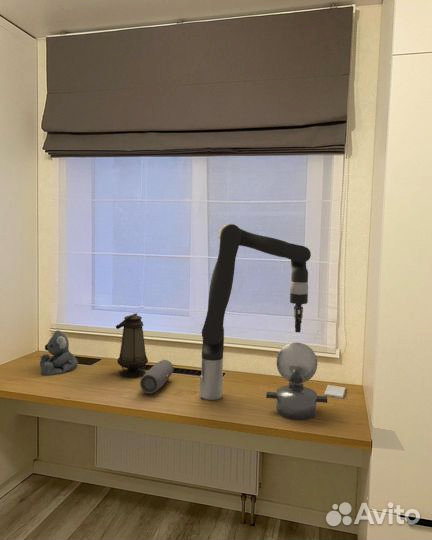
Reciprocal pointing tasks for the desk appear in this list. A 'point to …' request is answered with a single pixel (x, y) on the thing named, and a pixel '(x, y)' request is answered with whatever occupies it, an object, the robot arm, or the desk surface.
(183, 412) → the desk surface
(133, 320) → the lantern
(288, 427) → the desk surface
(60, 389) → the desk surface
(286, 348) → the lid
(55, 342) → the koala plush
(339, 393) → the hard drive
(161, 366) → the bluetooth speaker
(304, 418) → the pot
